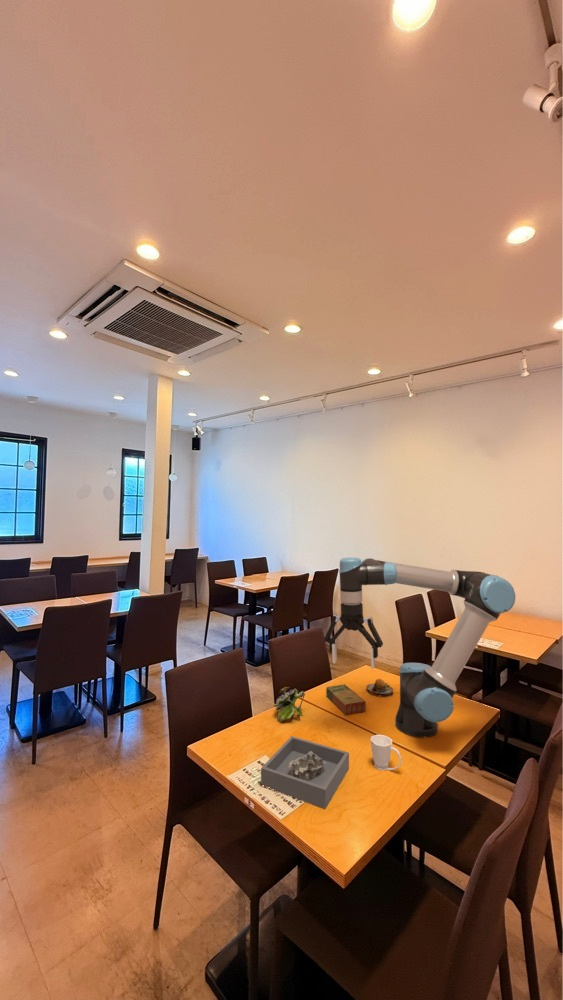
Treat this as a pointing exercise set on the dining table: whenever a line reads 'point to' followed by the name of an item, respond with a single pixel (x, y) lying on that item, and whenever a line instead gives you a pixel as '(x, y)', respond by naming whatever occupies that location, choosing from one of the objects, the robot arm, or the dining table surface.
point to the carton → (346, 700)
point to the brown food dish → (380, 689)
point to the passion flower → (288, 704)
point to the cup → (382, 752)
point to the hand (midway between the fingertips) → (353, 664)
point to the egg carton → (307, 766)
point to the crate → (317, 788)
